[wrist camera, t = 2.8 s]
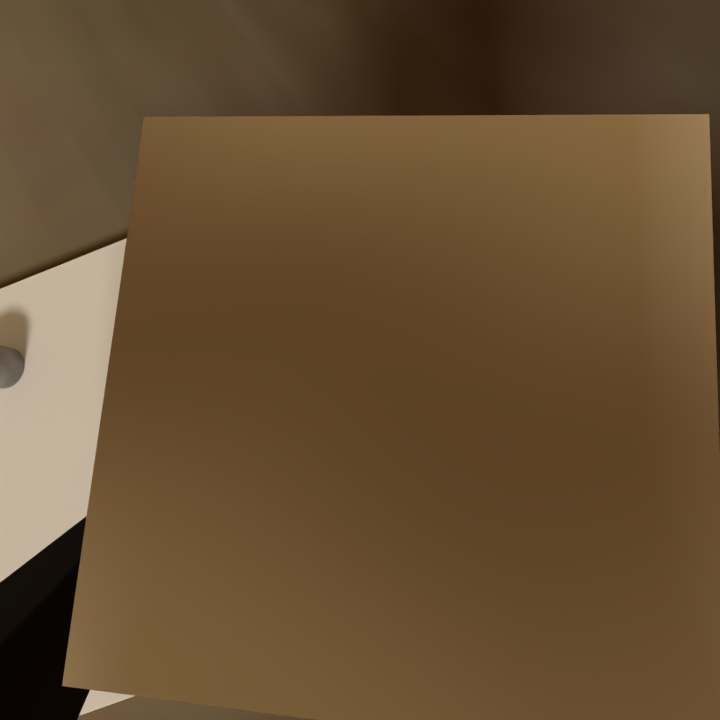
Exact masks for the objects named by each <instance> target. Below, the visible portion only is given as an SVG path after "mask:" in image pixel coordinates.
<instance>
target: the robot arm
mask: <svg viewBox="0 0 720 720" xmlns="http://www.w3.org/2000/svg"><path fill="white" fill-rule="evenodd" d="M85 523H86V517H84V518H83V519H82V520H80V521H79V522H78V523H76V524H75V525H74V526H73V527H71V528H70V529H69V530H67V531H66V532H65V533H63V534H62V535H61V536H60V537H58V538H57V539H56V540H54V541H53V542H52V543H50V544H49V545H48V546H47V547H45V548H44V549H43V550H41V551H40V552H39V553H38V554H36V555H35V556H34V557H32V558H31V559H30V560H28V561H27V562H26V563H25V564H23V565H22V566H21V567H19V568H18V569H17V570H15V571H14V572H13V573H12V574H10V575H9V576H8V577H6V578H5V579H4V580H2V581H1V582H0V720H77V719H78V717H79V714H80V712H81V710H82V707H83V705H84V703H85V701H86V698H87V696H88V694H89V692H90V690H89V689H81V688H74V687H66V686H62V682H63V675H64V669H65V662H66V655H67V648H68V641H69V634H70V627H71V620H72V613H73V606H74V599H75V592H76V586H77V579H78V572H79V565H80V558H81V551H82V544H83V537H84V530H85Z"/></svg>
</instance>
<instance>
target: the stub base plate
mask: <svg viewBox="0 0 720 720" xmlns="http://www.w3.org/2000/svg"><path fill="white" fill-rule="evenodd" d="M126 240H127V238H126V239H124V240H121V241H119V242H116V243H114V244H111V245H109V246H106V247H104V248H101V249H99V250H96V251H94V252H91V253H89V254H86V255H84V256H81V257H79V258H76V259H74V260H71V261H69V262H66V263H64V264H61V265H59V266H56V267H54V268H51V269H49V270H46V271H44V272H41V273H39V274H36V275H34V276H31V277H29V278H26V279H24V280H21V281H19V282H16V283H14V284H11V285H9V286H6V287H4V288H1V289H0V582H1V581H2V580H4V579H5V578H6V577H8V576H9V575H10V574H12V573H13V572H14V571H15V570H17V569H18V568H19V567H21V566H22V565H23V564H25V563H26V562H27V561H28V560H30V559H31V558H32V557H34V556H35V555H36V554H38V553H39V552H40V551H41V550H43V549H44V548H45V547H47V546H48V545H49V544H50V543H52V542H53V541H54V540H56V539H57V538H58V537H60V536H61V535H62V534H63V533H65V532H66V531H67V530H69V529H70V528H71V527H73V526H74V525H75V524H76V523H78V522H79V521H80V520H82V519H83V518H84V517H86V516H87V509H88V502H89V496H90V489H91V482H92V475H93V468H94V461H95V454H96V447H97V440H98V433H99V426H100V419H101V413H102V406H103V399H104V392H105V385H106V378H107V371H108V364H109V357H110V350H111V343H112V336H113V330H114V323H115V316H116V309H117V302H118V295H119V288H120V281H121V274H122V267H123V260H124V253H125V246H126ZM133 696H134V695H126V694H119V693H111V692H104V691H96V690H90V692H89V694H88V696H87V698H86V701H85V703H84V705H83V707H82V710H81V712H80V714H79V716H80V715H82V714H85V713H88V712H91V711H94V710H96V709H99V708H102V707H105V706H108V705H111V704H113V703H116V702H119V701H122V700H125V699H127V698H130V697H133Z"/></svg>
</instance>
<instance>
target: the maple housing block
mask: <svg viewBox="0 0 720 720" xmlns="http://www.w3.org/2000/svg"><path fill="white" fill-rule="evenodd" d="M62 686H66V687H74V688H81V689H89V690H96V691H104V692H111V693H119V694H126V695H134V696H141V697H149V698H156V699H164V700H171V701H179V702H186V703H194V704H201V705H209V706H216V707H224V708H231V709H239V710H246V711H254V712H261V713H269V714H276V715H284V716H291V717H299V718H306V719H314V720H720V452H719V419H718V387H717V354H716V322H715V289H714V256H713V224H712V191H711V159H710V126H709V114H650V115H439V116H227V117H144V122H143V129H142V136H141V143H140V150H139V157H138V163H137V170H136V177H135V184H134V191H133V198H132V205H131V212H130V219H129V226H128V233H127V240H126V246H125V253H124V260H123V267H122V274H121V281H120V288H119V295H118V302H117V309H116V316H115V323H114V330H113V336H112V343H111V350H110V357H109V364H108V371H107V378H106V385H105V392H104V399H103V406H102V413H101V419H100V426H99V433H98V440H97V447H96V454H95V461H94V468H93V475H92V482H91V489H90V496H89V502H88V509H87V516H86V523H85V530H84V537H83V544H82V551H81V558H80V565H79V572H78V579H77V586H76V592H75V599H74V606H73V613H72V620H71V627H70V634H69V641H68V648H67V655H66V662H65V669H64V675H63V682H62Z"/></svg>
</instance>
